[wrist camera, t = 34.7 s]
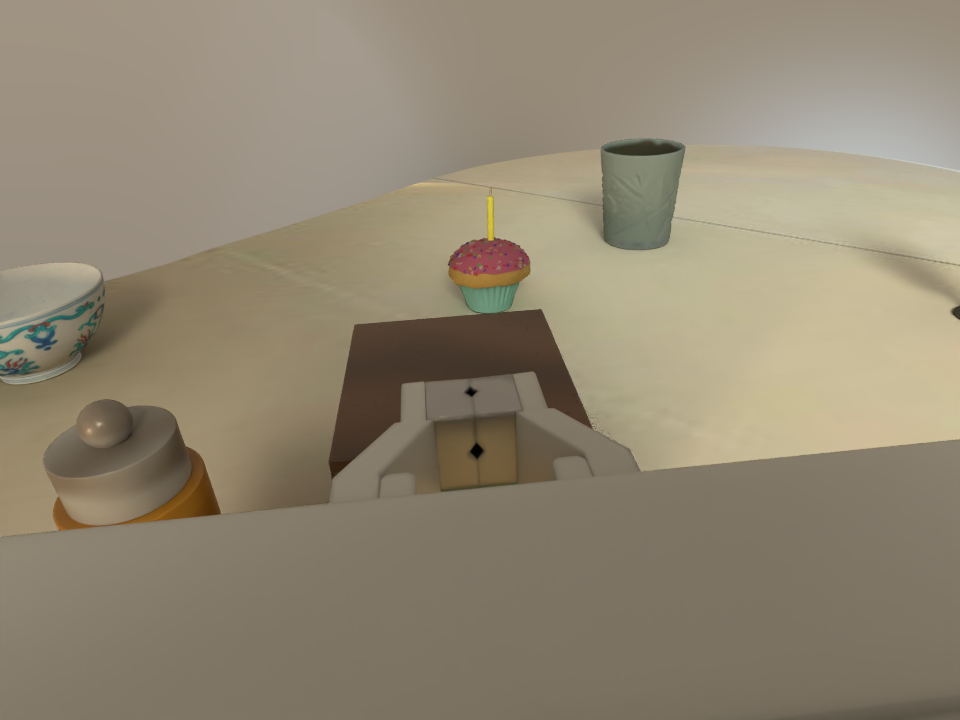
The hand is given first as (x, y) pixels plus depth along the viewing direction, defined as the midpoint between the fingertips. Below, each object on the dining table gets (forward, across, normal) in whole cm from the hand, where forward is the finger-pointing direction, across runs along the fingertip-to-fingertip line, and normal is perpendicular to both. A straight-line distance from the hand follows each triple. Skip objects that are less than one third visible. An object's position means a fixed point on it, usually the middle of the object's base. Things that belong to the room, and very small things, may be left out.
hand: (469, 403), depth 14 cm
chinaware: (+44, +38, +20) cm, 62 cm away
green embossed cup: (+66, -27, +20) cm, 74 cm away
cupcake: (+49, -5, +20) cm, 53 cm away
